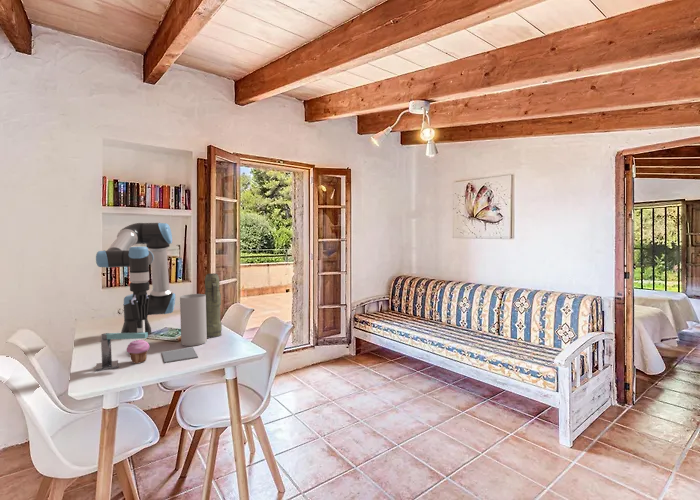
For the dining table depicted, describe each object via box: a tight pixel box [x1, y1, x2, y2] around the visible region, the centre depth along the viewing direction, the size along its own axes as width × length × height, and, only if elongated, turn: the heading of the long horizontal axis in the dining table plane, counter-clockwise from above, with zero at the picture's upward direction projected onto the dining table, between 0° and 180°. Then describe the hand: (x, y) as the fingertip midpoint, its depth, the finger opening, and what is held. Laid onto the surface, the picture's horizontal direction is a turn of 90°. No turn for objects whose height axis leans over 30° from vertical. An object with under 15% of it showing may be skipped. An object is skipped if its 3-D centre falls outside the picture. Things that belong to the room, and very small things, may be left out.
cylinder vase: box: [179, 293, 208, 347], centre depth 197 cm, size 12×12×25 cm
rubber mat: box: [161, 346, 199, 364], centre depth 178 cm, size 16×14×1 cm
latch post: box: [94, 338, 119, 372], centre depth 163 cm, size 8×8×12 cm
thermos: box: [204, 272, 223, 338], centre depth 211 cm, size 9×12×35 cm
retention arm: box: [101, 332, 149, 340], centre depth 163 cm, size 3×19×2 cm, turn 94°
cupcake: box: [126, 339, 150, 364], centre depth 169 cm, size 9×9×10 cm
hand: (141, 334), depth 166 cm, fingers closed
